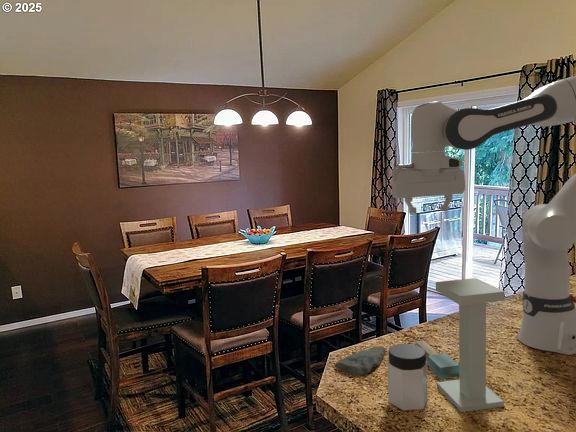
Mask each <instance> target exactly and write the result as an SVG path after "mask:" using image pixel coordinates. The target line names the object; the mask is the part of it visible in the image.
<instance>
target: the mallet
mask: <svg viewBox="0 0 576 432" xmlns="http://www.w3.org/2000/svg"><path fill="white" fill-rule="evenodd" d="M414 342H415V344H414V345H416V346H419V347H421V348H423V349H424V350H425V352H426V361H427V368H429V370H431V371H432V372H433V373H434V375H436V376H437V377H438V378H439V379H440V380H442V379H443V380H444V379H451V378H457V377H458V378H459V364H458V363H457V362H456V361H455V360H454V359H453V358H452V357H450V356H449V355H448V354H447V353H438V352H437V351H436V350H435V349H434V348H432V346H431V345H429V344H428V343H427V342H426V341H425V340H416V341H414Z"/></svg>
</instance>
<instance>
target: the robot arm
mask: <svg viewBox="0 0 576 432" xmlns="http://www.w3.org/2000/svg"><path fill="white" fill-rule="evenodd" d="M575 121H576V75H574V76H570V77H567V78H566V77H565V78H563V79H559V80H556V81H553V82H550V83H548V84H545V85H543V86H541V87H539V88H537V89H535V90H533V91H532V93H530V95H529V96H527V97H525V98H524V99H521V100H517V101H515V102H512V103H507V104H503V105H500V106H498V107H497V106H496V107H494V108H488V109H482V108H475V107H466V108H462V109H459V110H458V109H455V108H452V107H450V106H448V105H446V104H444V103H443V102H441V101H439V100H436V101H435V100H434V101H429V102H426V103H422V104H420V105H418V106H416V107H415V108H414V109H413V110H412V112H411V119H410V139H411V141H412V143H411V145H412V147H411V153H410V156H411V159H410V160H411V163H406V164H405V163H404V164H396V166H394V167H393V168H392V170H391V178H392V187H391V189H392V190H391V196H393V198H395V199H404V202H405V204H406V206H407V207H408V213H409V214H410V215H415V214H417V212H418V211H417V207H416V206H413V203H412V202H413V198H422V197H423V198H424V197H425V198H426V197H427V198H428V197H437V196H443V198H444V199H445V200H444V202H443V204H440V211H441V212H449V210H450V209H449V207H450V203H451V202H452V200H453V195H463V193H465V191H466V177H465V176H466V175H465V172H464V170H463V169H462V167H463V160H462V159H459V158H458V157H457V158H455V157H452V156H449V155H446V154H445V153H446V147H451V148H454V149H459V150H463V151H464V150H466V151H468V150H473V149H476V148H478V147H481V145H483V144H484V143H485V142H486V141H487V140H489V139H491V138H492V137H493V136H495V135H499V134H501V133H505V132H508V131H511V130H515V129H519V128H522V127H526V126H539V127H552V126H559V125H564V124H567V123H568V124H569V123H572V122H575ZM522 241H523V243H522V244H523V246H522V247H523V257H524V259H523V260H524V290H523V291H522V309H523V310H522V311H523V312H522V321H521V324H520V329H519V330H518V331H519V332H518V335H517V340H518V341H519V342H520V343H521V344H523V345H525V346H528V347H531V348H533V349H536V350H540V351H546V352H554V353H558V354H562V355H567V356H572V355H575V354H576V305H575V303H576V295H574V296H573V295H572V294H570V289H571V288H570V286H571V278H570V277H571V265H570V261H569V254H568V249H569V248H570V247H572V246H573V245H574V244H575V242H576V172H575V173H574V174H573V175H572V176H571V177H569V179H567V181H565V182H564V185H563V186H562V187H561V189H560V190H559V191H558V192H557V193H556V194H555V195H554V197H553V198H552V199H551V200H550V201H549V202H548V203H540V204H536V205H534V206H531V207H530V208H529V209H527V211H526V212H525V213H524V215H523V217H522Z"/></svg>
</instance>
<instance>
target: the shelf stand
mask: <svg viewBox="0 0 576 432" xmlns="http://www.w3.org/2000/svg"><path fill="white" fill-rule="evenodd" d="M435 291H436V292H438V293H440V294H441V295H443V296H444V297H446V298H448V299H449V300H451V301H452V302H454V303H456V304H458V332H459V334H458V338H459V339H458V341H459V342H458V346H459V347H458V348H459V349H458V351H459V353H458V355H459V357H458V358H459V359H458V360H459V364H458V365H459V377H458V378H459V379H453V380H452V379H451V380H445V381H437V382H436V388H438V390H439V391H440V392H441V393H442V394H443V395H444V397H446V398H447V399H448V400H449V402H451V404H454V405H455V406H456V407H457V408H456V407H455V406H454V405H453V406H454V407H455V408H456V409H457V410H458V411H459V412H460V413H467V412H466V411H468V412H473V411H480V410H488V409H495V408H502V407H504V406H505V401H504V400H503V399H502V398H500V397H499V396H498V394H496V393H495V392H494V391H493V390H492V389H490V388H489V387H488V386H487V378H486V377H487V341H486V340H487V303H495V302H505V299H506V297H505V294H506V293H505V292H506V291H504V290H503V289H500V288H498V287H496V286H494V285H491V284H489V283H487V282H485V281H483V280H481V279H479V278H478V277H477V278H476V277H471V278H463V279H453V280H442V281H435Z"/></svg>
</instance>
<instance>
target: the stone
mask: <svg viewBox="0 0 576 432" xmlns="http://www.w3.org/2000/svg"><path fill="white" fill-rule="evenodd" d="M385 354H387V350H386V348H385V346H383V345H379V346H374V347H371V348H369V349H365V350H360V351H357V352H356V353H353V354H349V355H348V356H346V357H344V358H342V359H339V360H338V361H336V362H335V364H334V367H335V368H337V369H339V370H341V371H343V372H347V373H351V374H354V375H357V376H364V375H367V374H368V373H370V372H371V371H372V369H373V368H374V367H377V366H380V364H381V362H382V360H383V359H384V357H385Z"/></svg>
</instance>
